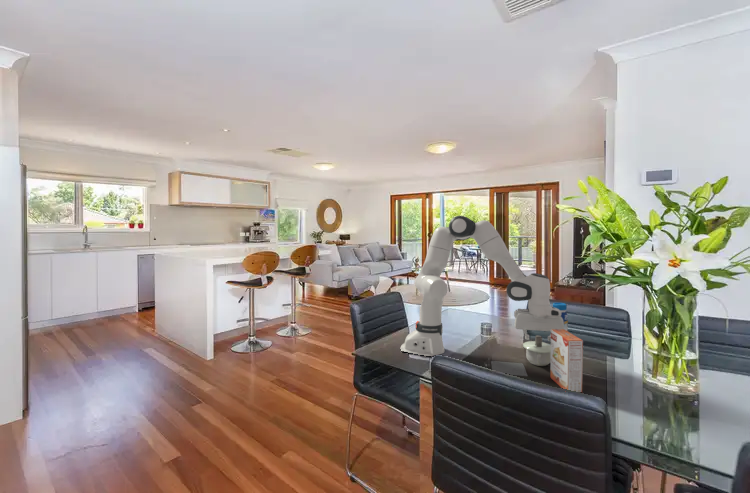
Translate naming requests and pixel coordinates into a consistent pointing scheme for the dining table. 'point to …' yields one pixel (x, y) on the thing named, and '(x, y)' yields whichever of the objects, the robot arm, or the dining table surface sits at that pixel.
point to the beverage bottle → (562, 313)
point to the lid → (537, 345)
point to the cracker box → (566, 360)
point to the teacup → (538, 358)
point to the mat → (509, 368)
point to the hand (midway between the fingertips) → (538, 339)
